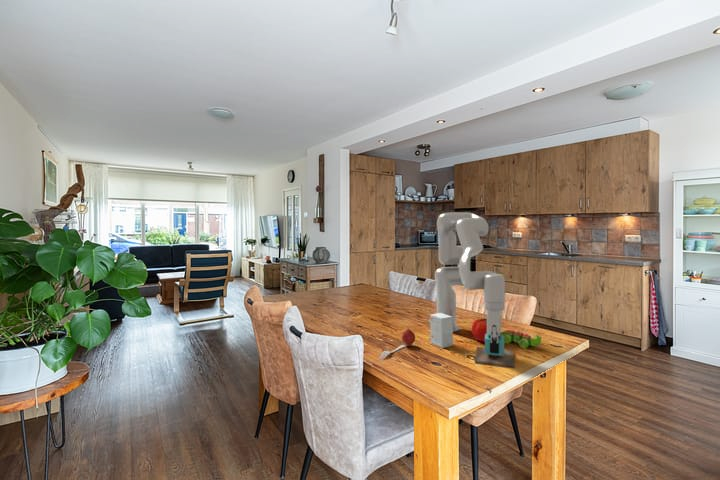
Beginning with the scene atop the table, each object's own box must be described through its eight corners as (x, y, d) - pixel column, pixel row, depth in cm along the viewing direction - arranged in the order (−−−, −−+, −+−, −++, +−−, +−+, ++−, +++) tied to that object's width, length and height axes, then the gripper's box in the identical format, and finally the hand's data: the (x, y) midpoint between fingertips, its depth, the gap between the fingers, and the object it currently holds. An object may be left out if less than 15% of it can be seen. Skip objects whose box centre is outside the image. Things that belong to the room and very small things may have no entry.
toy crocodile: (492, 340, 158) (492, 327, 158) (500, 337, 163) (500, 324, 162) (536, 351, 143) (536, 337, 143) (543, 348, 147) (543, 334, 147)
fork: (407, 351, 153) (408, 345, 153) (382, 362, 136) (383, 354, 136) (402, 350, 154) (402, 344, 154) (376, 360, 137) (377, 353, 138)
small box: (453, 345, 151) (453, 316, 151) (441, 348, 149) (441, 318, 148) (441, 340, 159) (441, 312, 158) (430, 342, 156) (429, 314, 155)
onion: (401, 343, 155) (401, 326, 155) (414, 343, 155) (414, 326, 154) (402, 348, 149) (402, 330, 149) (415, 348, 149) (415, 330, 149)
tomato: (496, 337, 162) (496, 315, 161) (501, 346, 150) (501, 322, 150) (470, 336, 164) (470, 314, 164) (472, 344, 153) (472, 321, 152)
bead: (484, 353, 135) (484, 338, 135) (485, 348, 142) (485, 333, 141) (504, 356, 132) (504, 340, 132) (503, 350, 139) (503, 335, 139)
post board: (474, 362, 132) (474, 345, 132) (476, 348, 147) (476, 332, 147) (514, 367, 127) (514, 349, 127) (512, 352, 142) (512, 336, 142)
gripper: (484, 300, 146) (485, 341, 146) (483, 309, 130) (483, 356, 130) (504, 301, 143) (504, 343, 144) (505, 310, 127) (505, 358, 128)
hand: (494, 349), depth 137 cm, fingers closed on bead, 7 cm apart
